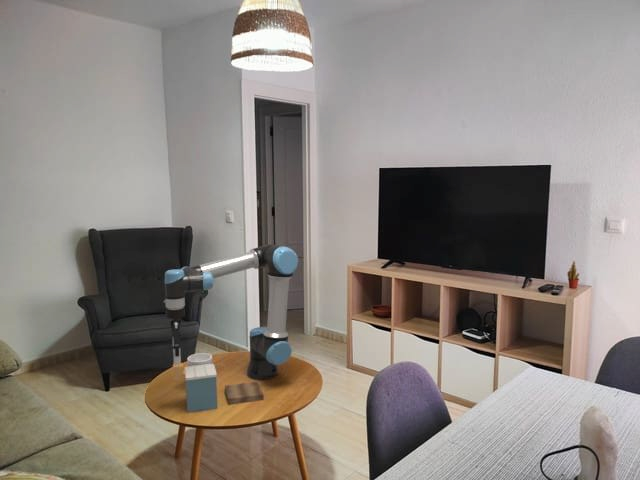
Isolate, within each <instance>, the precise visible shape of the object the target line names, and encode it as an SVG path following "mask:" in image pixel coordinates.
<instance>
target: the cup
mask: <svg viewBox="0 0 640 480" xmlns="http://www.w3.org/2000/svg"><path fill="white" fill-rule="evenodd" d="M186 359H187V365H188V367H189V366H194V365H195V366H197V365H204V364H205V365H206V364H213V356H212V354H210V353H207V352H199V353H194V354H193V353H192V354H191V355H188V357H187V358H186Z"/></svg>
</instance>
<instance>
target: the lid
mask: <svg viewBox="0 0 640 480" xmlns="http://www.w3.org/2000/svg"><path fill="white" fill-rule="evenodd" d="M172 375H173V376H172V377H173V380H172V381H173V382H178V381H184V380H185V382H186V381H187V380H195V379H203V378H211V377H216V378H217V377H218V376H217V375H218V374H217V370H216V366H215V364H214V363H211V364H206V365H205V364H204V365H197V366H195V365H194V366H189V365H188V366H184V363H183V362H181V363H179V364H174V363H173V364H172ZM184 377H186V378H184Z"/></svg>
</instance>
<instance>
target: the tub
mask: <svg viewBox="0 0 640 480" xmlns="http://www.w3.org/2000/svg"><path fill="white" fill-rule="evenodd" d="M184 377H185V376H184ZM184 379H186V377H185V378H184ZM217 383H218V381H217V377H211V378H203V379H195V380H187V381H186V380H185V397H186V398H185V399H186V400H185V401H186V407H187V413H189V414H190V413H194V412H195V413H196V412H202V411H210V410H216V409H218V391H217V389H218V388H217V387H218V385H217Z"/></svg>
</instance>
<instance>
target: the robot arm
mask: <svg viewBox="0 0 640 480" xmlns="http://www.w3.org/2000/svg"><path fill="white" fill-rule="evenodd" d="M298 267H299V257H298V255H297V253H296V251H294V250H293V249H292V248H290V247H287V246H283V245H279V244H277V243H275V244H274V243H272V244H271V243H270V244H265V245H261V246H258V247H255V248H250V250H249V251H248V252H244V253H240V254H237V255H232V256H229V257H225V258H222V259H218V260H213V261H210V262H206V263H202V264H199V265H194V266H192V267H191V266H183V267H181V268H179V269H168V270H166V271H165V273H164V291H165V293H164V295H165V299H164V300H163V303H164V304H165V317H166V318H167V319H168V320H170V327H171V334H172V346H171V350H172V353H173V364H180V363H182V357H181V352H182V351H181V326H182V322H181V320H180V319H183V318H184V317H185V316H186V308H185V306H186V301H185V300H186V299H185V298H186V297H185V293H190V292H191V293H192V292H199V291H200V292H202V291H204V292H205V291H207V290H211V289H213V287H214V279H216V278H220V277H223V276H227V275H232V274H235V273H238V272H243V271H246V270H249V269H255V270H258V269H262V268H266V269H267V277H269V279H270V280H269V281H270V283H269V294H268V297H269V298H268V309H267V311H268V312H267V323H266V326H260V327H254V328H252V329H251V330H250V331H249V336H248V337H249V362H248V365H247V367H246V368H247V369H246V375H247V377H248V378H250V379H252V380H260V381H261V380H262V381H263V380H270V379H273V378H275V377H276V376H277V375H279V369H278V368H279V367H278V366H280V365H284V363H287V361H288V360H289V359H290V358H291V355H292V346H291V344H290V343H289V333H288V332H287V331H286V328H287V327H286V326H287V316H288V315H287V314H288V300H289V287H290V280H291V279H292V278H293V277H294V273H295V271H296V270H297V269H298Z"/></svg>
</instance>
